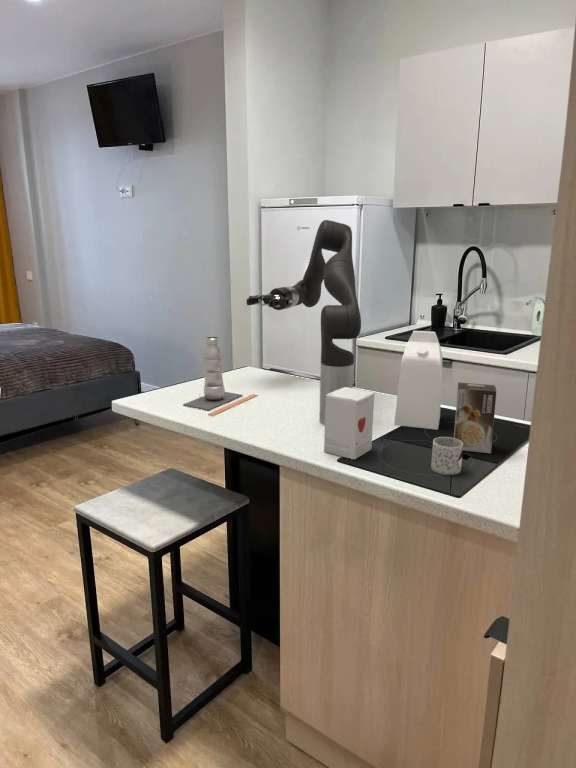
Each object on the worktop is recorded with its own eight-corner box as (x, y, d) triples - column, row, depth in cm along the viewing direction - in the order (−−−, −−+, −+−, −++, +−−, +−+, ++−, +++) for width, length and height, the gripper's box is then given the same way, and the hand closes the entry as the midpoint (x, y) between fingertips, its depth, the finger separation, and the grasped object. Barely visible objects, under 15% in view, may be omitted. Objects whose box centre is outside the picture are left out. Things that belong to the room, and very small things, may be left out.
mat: (242, 396, 183) (242, 394, 182) (208, 411, 168) (208, 409, 167) (218, 391, 187) (218, 390, 187) (183, 405, 172) (183, 404, 172)
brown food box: (489, 445, 142) (496, 384, 138) (491, 454, 136) (498, 391, 132) (452, 441, 145) (458, 381, 141) (452, 449, 139) (457, 388, 135)
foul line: (257, 395, 183) (257, 394, 183) (213, 416, 163) (213, 415, 163) (252, 394, 184) (252, 394, 184) (207, 414, 164) (207, 413, 164)
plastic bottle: (223, 402, 174) (221, 339, 169) (202, 402, 174) (199, 339, 169) (226, 396, 180) (224, 335, 175) (205, 396, 181) (203, 335, 175)
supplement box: (354, 460, 132) (357, 400, 128) (323, 452, 137) (324, 394, 133) (372, 449, 139) (375, 392, 135) (342, 441, 144) (344, 385, 140)
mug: (464, 475, 125) (467, 447, 123) (435, 475, 125) (437, 447, 123) (451, 457, 134) (453, 431, 133) (424, 457, 134) (426, 431, 133)
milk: (440, 416, 164) (447, 329, 157) (437, 429, 153) (445, 336, 146) (398, 412, 167) (404, 327, 160) (394, 424, 157) (399, 334, 150)
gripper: (266, 286, 195) (240, 290, 182) (302, 288, 189) (277, 292, 175) (266, 307, 197) (240, 312, 184) (301, 310, 191) (277, 316, 177)
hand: (258, 303), depth 179 cm, fingers open, 8 cm apart
